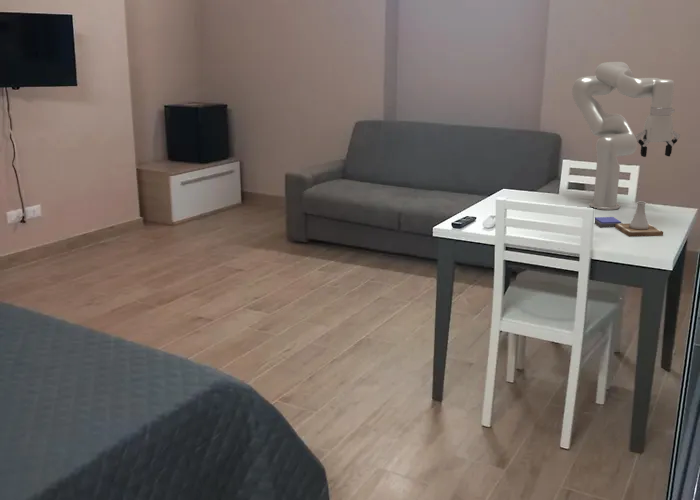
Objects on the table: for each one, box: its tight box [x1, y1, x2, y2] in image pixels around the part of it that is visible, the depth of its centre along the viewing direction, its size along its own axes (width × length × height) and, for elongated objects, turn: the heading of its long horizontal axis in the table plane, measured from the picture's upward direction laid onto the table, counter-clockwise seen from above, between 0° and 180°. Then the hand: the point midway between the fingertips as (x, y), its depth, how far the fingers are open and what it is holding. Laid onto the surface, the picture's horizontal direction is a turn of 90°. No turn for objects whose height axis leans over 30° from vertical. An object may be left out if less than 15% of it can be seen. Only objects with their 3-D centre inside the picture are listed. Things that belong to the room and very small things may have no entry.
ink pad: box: [594, 216, 623, 229], centre depth 284 cm, size 9×9×2 cm
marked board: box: [614, 222, 664, 238], centre depth 274 cm, size 13×13×2 cm
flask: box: [629, 200, 649, 229], centre depth 272 cm, size 7×7×10 cm
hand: (655, 156), depth 282 cm, fingers open, 9 cm apart
